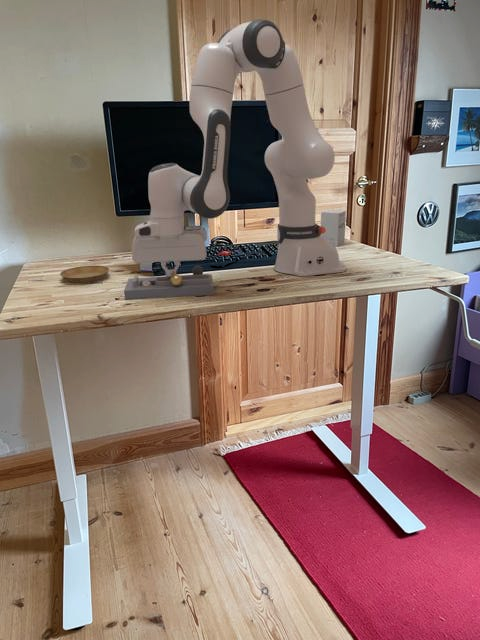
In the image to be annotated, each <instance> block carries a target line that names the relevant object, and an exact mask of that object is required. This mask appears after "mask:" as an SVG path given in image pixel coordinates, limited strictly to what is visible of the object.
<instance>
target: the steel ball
mask: <svg viewBox="0 0 480 640" xmlns="http://www.w3.org/2000/svg"><path fill="white" fill-rule="evenodd" d="M149 285H151V283H150V282H149V281H143V282H142V283H141V285H140V286H149Z"/></svg>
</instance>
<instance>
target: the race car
mask: <svg viewBox="0 0 480 640" xmlns="http://www.w3.org/2000/svg"><path fill="white" fill-rule="evenodd" d="M232 252H233V251H230V250H224V251H223V250H222V251H221V252H219V253H218V254H219V255H222V256H227V255H229V254H231V253H232Z"/></svg>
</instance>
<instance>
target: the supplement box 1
mask: <svg viewBox="0 0 480 640" xmlns="http://www.w3.org/2000/svg"><path fill="white" fill-rule="evenodd" d="M152 263H154V262H147V263H139V269H140V270H139V271H140V273H153V272H152Z"/></svg>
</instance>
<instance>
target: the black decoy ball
mask: <svg viewBox="0 0 480 640" xmlns="http://www.w3.org/2000/svg"><path fill="white" fill-rule="evenodd" d="M191 270H192V271H191V272H192V275H198V274H204V268H203V266H201V265H199V264H198V265H194V266H193V267H192V269H191Z"/></svg>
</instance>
